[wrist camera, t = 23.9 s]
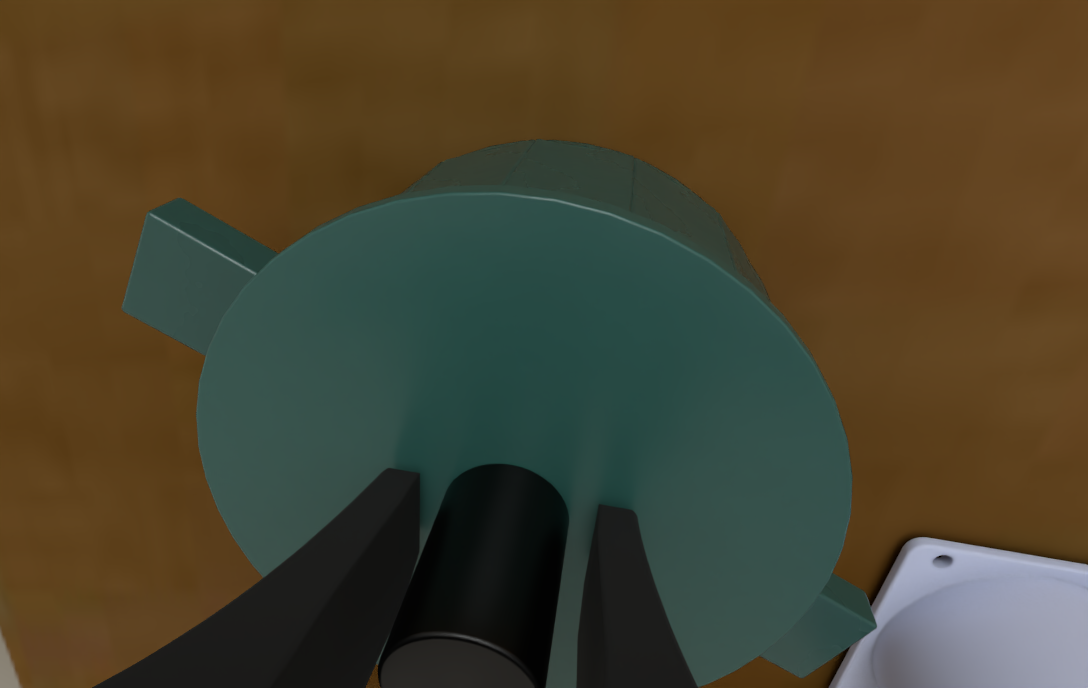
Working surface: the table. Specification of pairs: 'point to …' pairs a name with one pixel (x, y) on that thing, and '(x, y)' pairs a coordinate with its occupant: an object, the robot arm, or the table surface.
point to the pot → (575, 168)
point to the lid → (530, 425)
